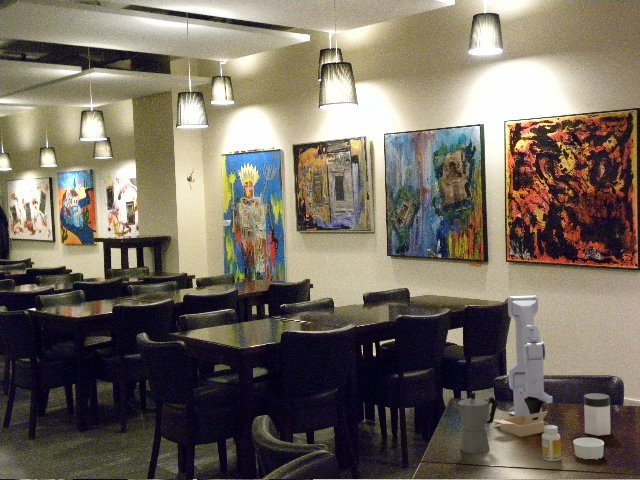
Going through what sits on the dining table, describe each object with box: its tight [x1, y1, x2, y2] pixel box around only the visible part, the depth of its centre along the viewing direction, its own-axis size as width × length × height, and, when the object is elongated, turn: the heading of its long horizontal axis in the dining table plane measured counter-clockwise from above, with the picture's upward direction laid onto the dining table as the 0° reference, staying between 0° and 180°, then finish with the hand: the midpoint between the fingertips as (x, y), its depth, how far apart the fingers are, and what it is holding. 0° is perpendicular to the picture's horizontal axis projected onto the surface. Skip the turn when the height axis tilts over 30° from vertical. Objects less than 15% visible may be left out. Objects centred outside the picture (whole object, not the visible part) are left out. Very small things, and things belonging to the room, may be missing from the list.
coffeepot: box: [454, 392, 498, 455], centre depth 253 cm, size 15×9×18 cm, turn 113°
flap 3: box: [523, 410, 549, 425], centre depth 264 cm, size 8×1×5 cm
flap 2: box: [493, 415, 522, 426], centre depth 277 cm, size 9×1×5 cm
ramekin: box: [572, 437, 605, 460], centre depth 242 cm, size 9×9×4 cm
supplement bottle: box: [541, 424, 562, 462], centre depth 241 cm, size 5×5×10 cm
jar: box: [583, 392, 611, 437], centre depth 265 cm, size 9×8×12 cm
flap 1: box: [493, 419, 515, 425], centre depth 267 cm, size 1×5×5 cm
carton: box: [500, 415, 545, 438], centre depth 271 cm, size 10×10×4 cm
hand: (535, 419), depth 264 cm, fingers closed, pressing on flap 3
